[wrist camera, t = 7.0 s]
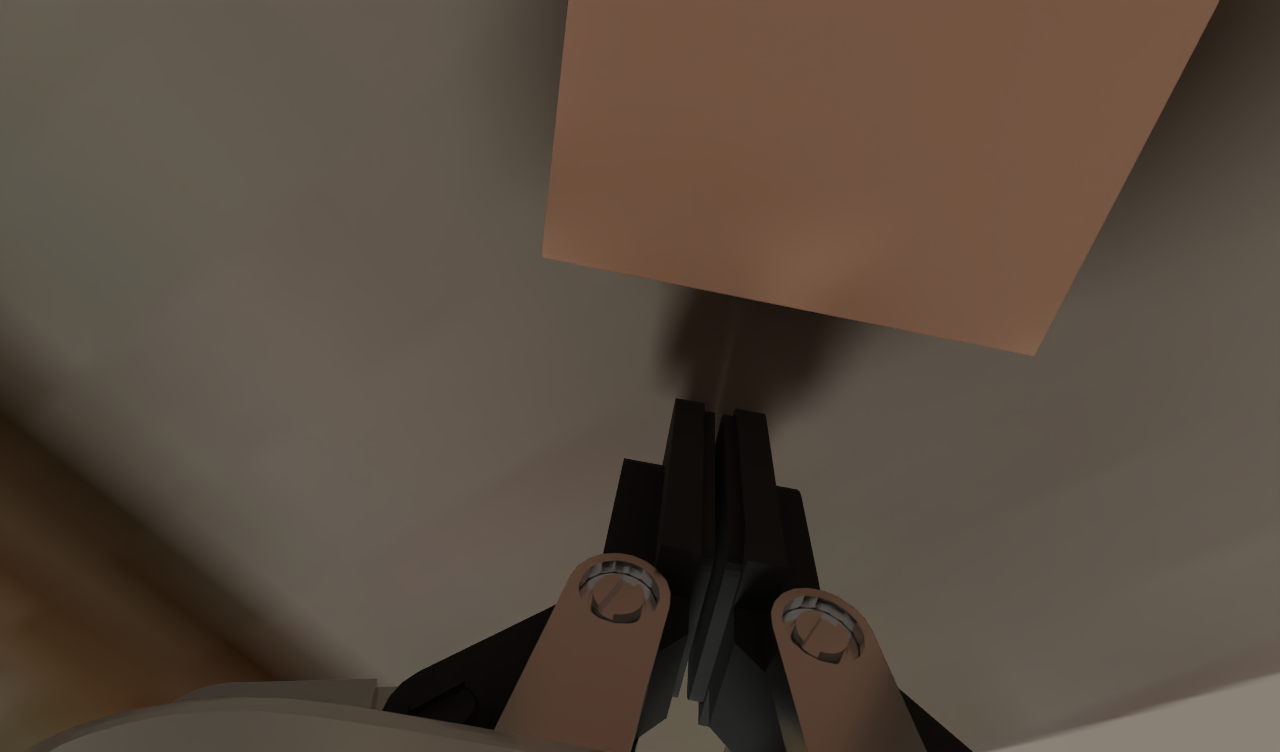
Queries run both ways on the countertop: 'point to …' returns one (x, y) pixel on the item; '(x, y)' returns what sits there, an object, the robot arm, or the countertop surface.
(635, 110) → the tile
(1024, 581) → the countertop surface
